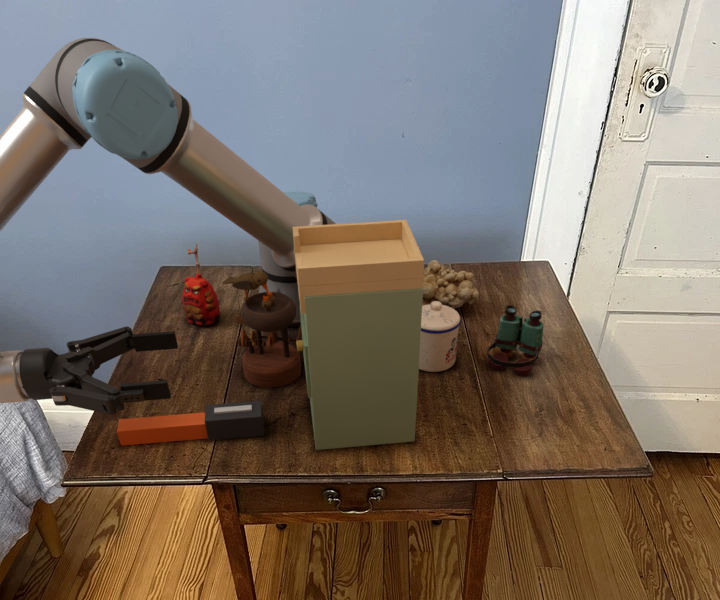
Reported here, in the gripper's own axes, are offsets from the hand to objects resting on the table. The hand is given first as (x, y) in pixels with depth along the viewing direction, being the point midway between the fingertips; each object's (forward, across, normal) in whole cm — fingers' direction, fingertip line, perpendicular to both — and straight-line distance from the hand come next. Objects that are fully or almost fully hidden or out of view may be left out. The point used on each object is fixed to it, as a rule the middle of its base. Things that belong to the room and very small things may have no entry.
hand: (173, 363), depth 102 cm
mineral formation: (+50, +36, +14) cm, 63 cm away
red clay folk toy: (+1, +38, +14) cm, 40 cm away
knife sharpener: (+1, 0, +14) cm, 14 cm away
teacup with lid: (+44, +18, +14) cm, 50 cm away
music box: (+15, +16, +14) cm, 26 cm away
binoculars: (+58, +12, +14) cm, 61 cm away
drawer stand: (+28, 0, +14) cm, 31 cm away
